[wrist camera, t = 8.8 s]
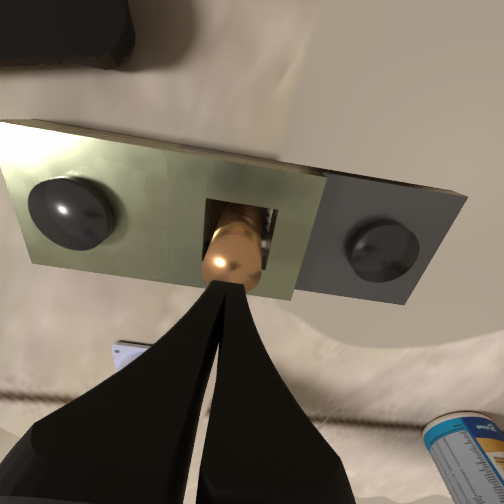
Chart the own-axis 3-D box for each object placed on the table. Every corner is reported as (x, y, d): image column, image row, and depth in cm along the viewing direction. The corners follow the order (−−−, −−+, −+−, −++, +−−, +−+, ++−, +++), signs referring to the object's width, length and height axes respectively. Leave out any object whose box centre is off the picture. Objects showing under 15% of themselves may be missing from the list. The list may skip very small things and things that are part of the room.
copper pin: (259, 239, 19) (258, 297, 13) (221, 236, 19) (202, 293, 13) (263, 202, 18) (264, 248, 12) (221, 199, 18) (200, 243, 12)
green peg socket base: (395, 293, 21) (421, 328, 18) (61, 243, 20) (19, 271, 17) (452, 190, 17) (501, 210, 14) (31, 118, 16) (-34, 120, 12)
